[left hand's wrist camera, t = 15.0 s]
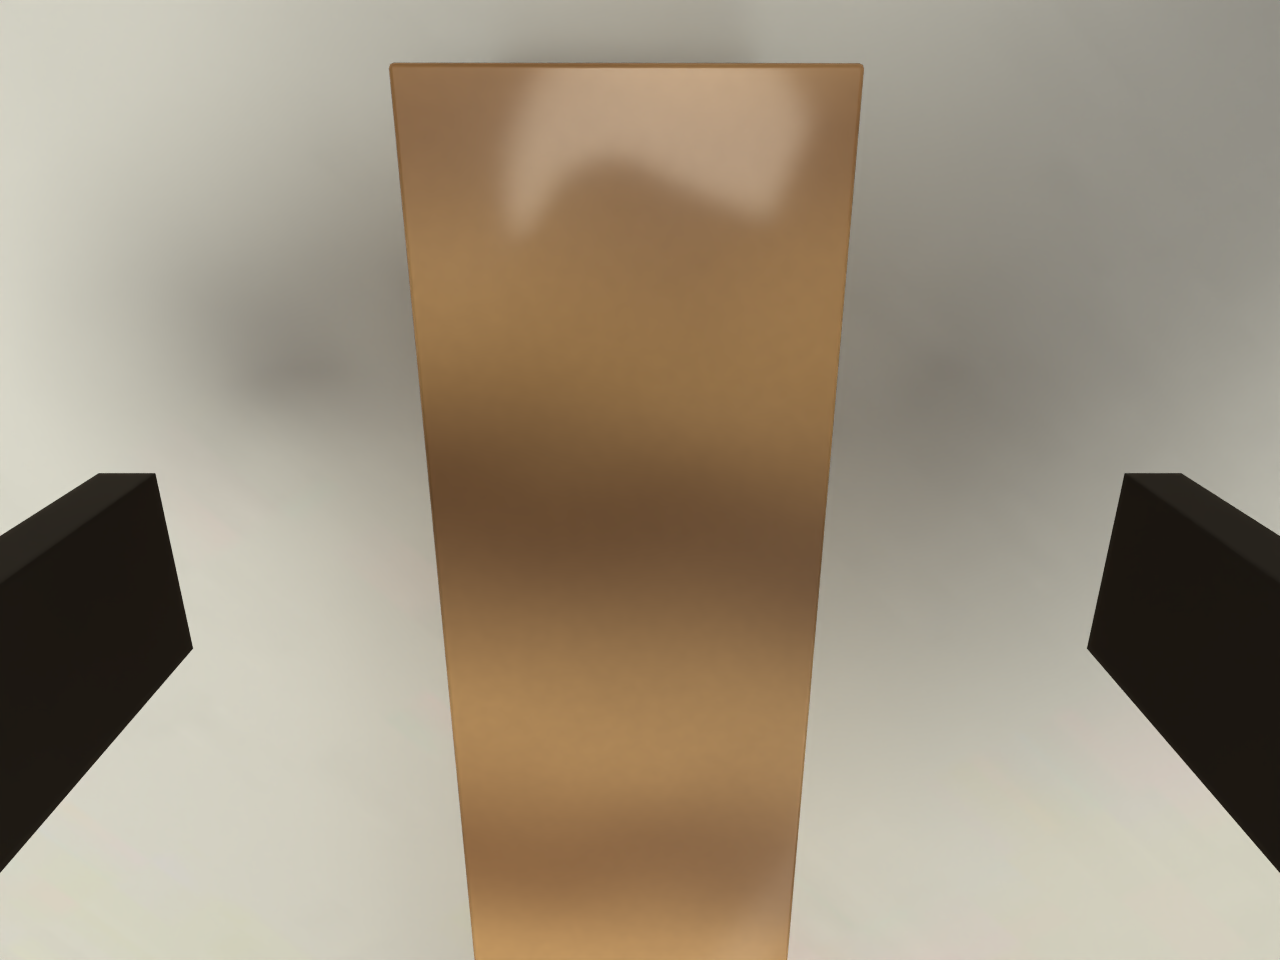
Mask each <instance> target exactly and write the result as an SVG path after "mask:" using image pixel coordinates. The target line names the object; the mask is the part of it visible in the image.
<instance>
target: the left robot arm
mask: <svg viewBox="0 0 1280 960" xmlns="http://www.w3.org/2000/svg"><path fill="white" fill-rule="evenodd" d="M192 649H193V646H192V642H191V637H190V632H189V628H188V623H187V618H186V614H185V609H184V604H183V600H182V595H181V591H180V586H179V581H178V577H177V572H176V567H175V563H174V558H173V553H172V549H171V544H170V539H169V535H168V530H167V525H166V521H165V516H164V512H163V507H162V502H161V498H160V493H159V488H158V484H157V479H156V474H155V473H98V474H97V475H95V476H94V477H92V478H91V479H89V480H87V481H86V482H84V483H83V484H81V485H80V486H78V487H76V488H75V489H73V490H72V491H70V492H69V493H67V494H65V495H64V496H62V497H61V498H59V499H58V500H56V501H54V502H53V503H51V504H50V505H48V506H47V507H45V508H43V509H42V510H40V511H39V512H37V513H36V514H34V515H33V516H31V517H29V518H28V519H26V520H25V521H23V522H22V523H20V524H18V525H17V526H15V527H14V528H12V529H11V530H9V531H7V532H6V533H4V534H3V535H1V536H0V872H1V871H2V870H3V869H4V868H5V867H6V865H7V864H8V863H9V862H10V861H11V860H12V858H13V857H14V856H15V855H16V854H17V853H18V851H19V850H20V849H21V848H22V847H23V846H24V844H25V843H26V842H27V841H28V840H29V839H30V837H31V836H32V835H33V834H34V833H35V832H36V830H37V829H38V828H39V827H40V826H41V825H42V824H43V822H44V821H45V820H46V819H47V818H48V817H49V815H50V814H51V813H52V812H53V811H54V810H55V808H56V807H57V806H58V805H59V804H60V803H61V801H62V800H63V799H64V798H65V797H66V796H67V794H68V793H69V792H70V791H71V790H72V789H73V787H74V786H75V785H76V784H77V783H78V782H79V780H80V779H81V778H82V777H83V776H84V775H85V774H86V772H87V771H88V770H89V769H90V768H91V767H92V765H93V764H94V763H95V762H96V761H97V760H98V758H99V757H100V756H101V755H102V754H103V753H104V751H105V750H106V749H107V748H108V747H109V746H110V744H111V743H112V742H113V741H114V740H115V739H116V737H117V736H118V735H119V734H120V733H121V732H122V730H123V729H124V728H125V727H126V726H127V725H128V723H129V722H130V721H131V720H132V719H133V718H134V717H135V715H136V714H137V713H138V712H139V711H140V710H141V708H142V707H143V706H144V705H145V704H146V703H147V701H148V700H149V699H150V698H151V697H152V696H153V694H154V693H155V692H156V691H157V690H158V689H159V687H160V686H161V685H162V684H163V683H164V682H165V680H166V679H167V678H168V677H169V676H170V675H171V673H172V672H173V671H174V670H175V669H176V668H177V667H178V665H179V664H180V663H181V662H182V661H183V660H184V658H185V657H186V656H187V655H188V654H189V653H190V651H191V650H192ZM1087 649H1088V650H1089V651H1090V653H1091V654H1092V655H1093V656H1094V657H1095V658H1096V660H1097V661H1098V662H1099V663H1100V664H1101V665H1102V667H1103V668H1104V669H1105V670H1106V671H1107V672H1108V673H1109V675H1110V676H1111V677H1112V678H1113V679H1114V680H1115V682H1116V683H1117V684H1118V685H1119V686H1120V687H1121V689H1122V690H1123V691H1124V692H1125V693H1126V694H1127V696H1128V697H1129V698H1130V699H1131V700H1132V701H1133V703H1134V704H1135V705H1136V706H1137V707H1138V708H1139V710H1140V711H1141V712H1142V713H1143V714H1144V715H1145V717H1146V718H1147V719H1148V720H1149V721H1150V722H1151V723H1152V725H1153V726H1154V727H1155V728H1156V729H1157V730H1158V732H1159V733H1160V734H1161V735H1162V736H1163V737H1164V739H1165V740H1166V741H1167V742H1168V743H1169V744H1170V746H1171V747H1172V748H1173V749H1174V750H1175V751H1176V753H1177V754H1178V755H1179V756H1180V757H1181V758H1182V760H1183V761H1184V762H1185V763H1186V764H1187V765H1188V767H1189V768H1190V769H1191V770H1192V771H1193V772H1194V773H1195V775H1196V776H1197V777H1198V778H1199V779H1200V780H1201V782H1202V783H1203V784H1204V785H1205V786H1206V787H1207V789H1208V790H1209V791H1210V792H1211V793H1212V794H1213V796H1214V797H1215V798H1216V799H1217V800H1218V801H1219V803H1220V804H1221V805H1222V806H1223V807H1224V808H1225V810H1226V811H1227V812H1228V813H1229V814H1230V815H1231V817H1232V818H1233V819H1234V820H1235V821H1236V822H1237V824H1238V825H1239V826H1240V827H1241V828H1242V829H1243V830H1244V832H1245V833H1246V834H1247V835H1248V836H1249V837H1250V839H1251V840H1252V841H1253V842H1254V843H1255V844H1256V846H1257V847H1258V848H1259V849H1260V850H1261V851H1262V853H1263V854H1264V855H1265V856H1266V857H1267V858H1268V860H1269V861H1270V862H1271V863H1272V864H1273V865H1274V867H1275V868H1276V869H1277V870H1278V871H1279V872H1280V536H1279V535H1277V534H1276V533H1274V532H1273V531H1271V530H1269V529H1268V528H1266V527H1265V526H1263V525H1262V524H1260V523H1258V522H1257V521H1255V520H1254V519H1252V518H1251V517H1249V516H1247V515H1246V514H1244V513H1243V512H1241V511H1240V510H1238V509H1237V508H1235V507H1233V506H1232V505H1230V504H1229V503H1227V502H1226V501H1224V500H1222V499H1221V498H1219V497H1218V496H1216V495H1215V494H1213V493H1211V492H1210V491H1208V490H1207V489H1205V488H1204V487H1202V486H1200V485H1199V484H1197V483H1196V482H1194V481H1193V480H1191V479H1189V478H1188V477H1186V476H1185V475H1183V474H1182V473H1125V474H1124V479H1123V484H1122V488H1121V493H1120V498H1119V502H1118V507H1117V512H1116V516H1115V521H1114V525H1113V530H1112V535H1111V539H1110V544H1109V549H1108V553H1107V558H1106V563H1105V567H1104V572H1103V577H1102V581H1101V586H1100V591H1099V595H1098V600H1097V605H1096V609H1095V614H1094V618H1093V623H1092V628H1091V632H1090V637H1089V642H1088V646H1087Z"/></svg>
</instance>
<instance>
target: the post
mask: <svg viewBox="0 0 1280 960" xmlns="http://www.w3.org/2000/svg"><path fill="white" fill-rule="evenodd" d="M389 74H390V84H391V94H392V105H393V115H394V126H395V136H396V146H397V157H398V167H399V178H400V188H401V199H402V209H403V219H404V230H405V240H406V251H407V261H408V271H409V282H410V292H411V303H412V313H413V323H414V334H415V344H416V355H417V365H418V375H419V386H420V396H421V407H422V417H423V428H424V438H425V448H426V459H427V469H428V480H429V490H430V500H431V511H432V521H433V532H434V542H435V552H436V563H437V573H438V584H439V594H440V604H441V615H442V625H443V636H444V646H445V657H446V667H447V677H448V688H449V698H450V709H451V719H452V729H453V740H454V750H455V761H456V771H457V781H458V792H459V802H460V813H461V823H462V833H463V844H464V854H465V865H466V875H467V886H468V896H469V906H470V917H471V927H472V938H473V948H474V958H475V960H787V956H788V945H789V933H790V922H791V910H792V898H793V887H794V875H795V864H796V852H797V840H798V829H799V817H800V806H801V794H802V782H803V771H804V759H805V748H806V736H807V724H808V713H809V701H810V689H811V678H812V666H813V655H814V643H815V631H816V620H817V608H818V597H819V585H820V573H821V562H822V550H823V539H824V527H825V515H826V504H827V492H828V481H829V469H830V457H831V446H832V434H833V422H834V411H835V399H836V388H837V376H838V364H839V353H840V341H841V330H842V318H843V306H844V295H845V283H846V272H847V260H848V248H849V237H850V225H851V213H852V202H853V190H854V179H855V167H856V155H857V144H858V132H859V121H860V109H861V97H862V86H863V74H864V67H863V65H862V64H860V63H392V64H390V67H389Z"/></svg>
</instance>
